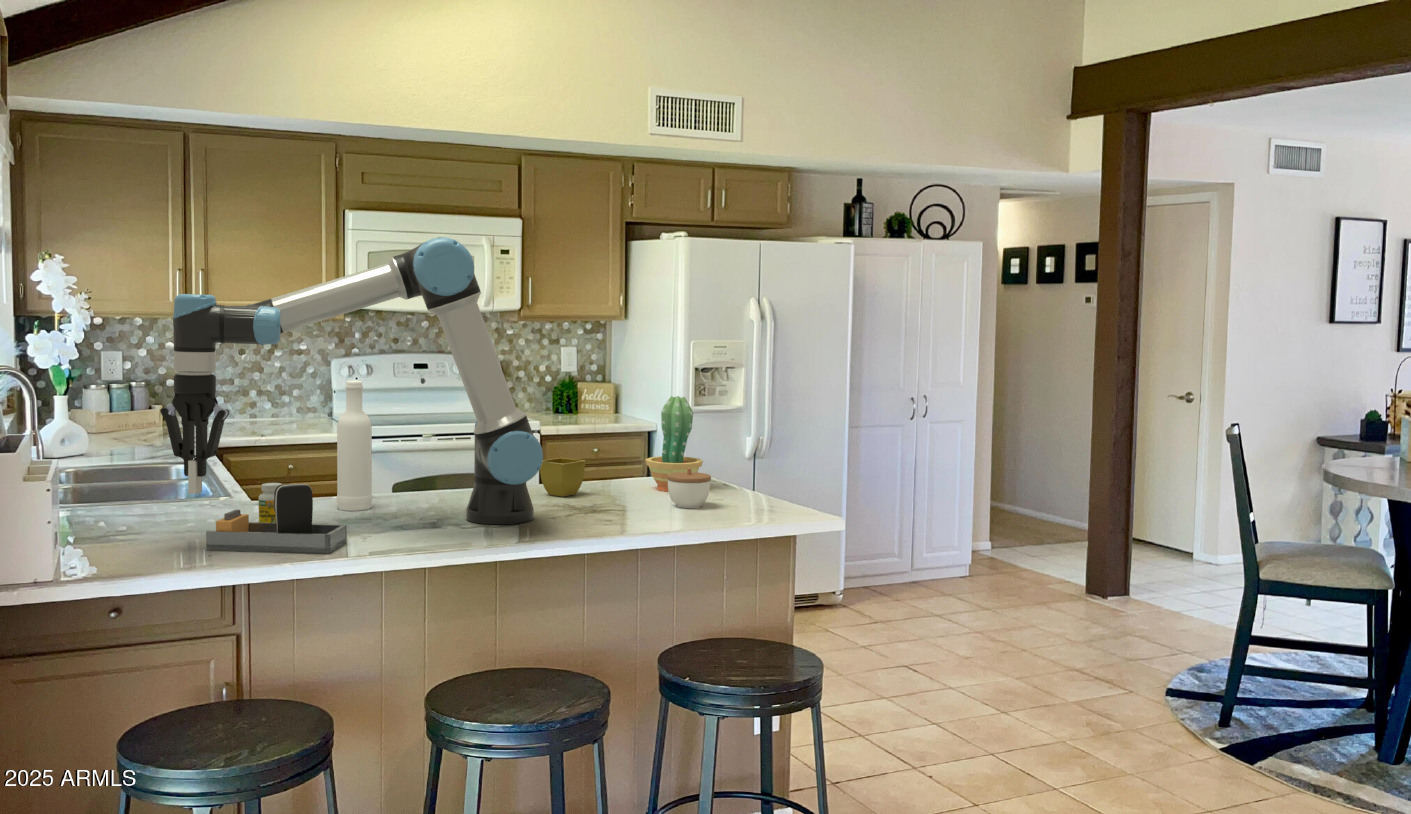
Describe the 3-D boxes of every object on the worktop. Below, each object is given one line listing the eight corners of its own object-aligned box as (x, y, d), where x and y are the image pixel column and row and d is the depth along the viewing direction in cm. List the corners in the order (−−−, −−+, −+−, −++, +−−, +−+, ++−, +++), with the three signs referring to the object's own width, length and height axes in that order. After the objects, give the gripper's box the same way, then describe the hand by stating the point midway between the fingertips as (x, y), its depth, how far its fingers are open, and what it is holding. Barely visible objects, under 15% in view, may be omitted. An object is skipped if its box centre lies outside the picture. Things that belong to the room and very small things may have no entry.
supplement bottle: (290, 527, 245) (290, 482, 245) (277, 531, 240) (277, 486, 239) (267, 525, 246) (266, 481, 245) (253, 530, 241) (253, 485, 240)
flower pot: (537, 495, 293) (537, 460, 292) (560, 491, 300) (560, 457, 299) (563, 499, 288) (563, 463, 287) (586, 494, 295) (586, 460, 294)
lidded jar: (702, 501, 289) (703, 465, 288) (716, 509, 279) (717, 471, 278) (661, 503, 286) (662, 465, 285) (673, 510, 275) (674, 472, 275)
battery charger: (308, 537, 230) (308, 481, 229) (313, 540, 226) (313, 483, 225) (272, 540, 226) (271, 483, 225) (277, 544, 222) (276, 486, 221)
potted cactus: (712, 488, 310) (715, 396, 308) (682, 496, 297) (684, 400, 294) (665, 482, 318) (667, 393, 315) (633, 489, 305) (635, 396, 302)
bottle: (360, 503, 275) (360, 379, 272) (378, 508, 269) (378, 381, 267) (330, 507, 269) (329, 380, 266) (348, 512, 263) (348, 382, 261)
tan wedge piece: (248, 533, 230) (248, 508, 230) (231, 542, 222) (231, 515, 222) (234, 533, 230) (233, 508, 230) (216, 541, 222) (215, 515, 222)
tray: (346, 543, 231) (346, 524, 231) (329, 553, 221) (329, 534, 221) (229, 539, 231) (228, 521, 231) (206, 550, 221) (206, 531, 221)
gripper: (236, 373, 227) (236, 490, 229) (171, 371, 227) (171, 488, 229) (219, 375, 220) (219, 497, 222) (152, 373, 220) (152, 494, 222)
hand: (195, 492), depth 225 cm, fingers closed
